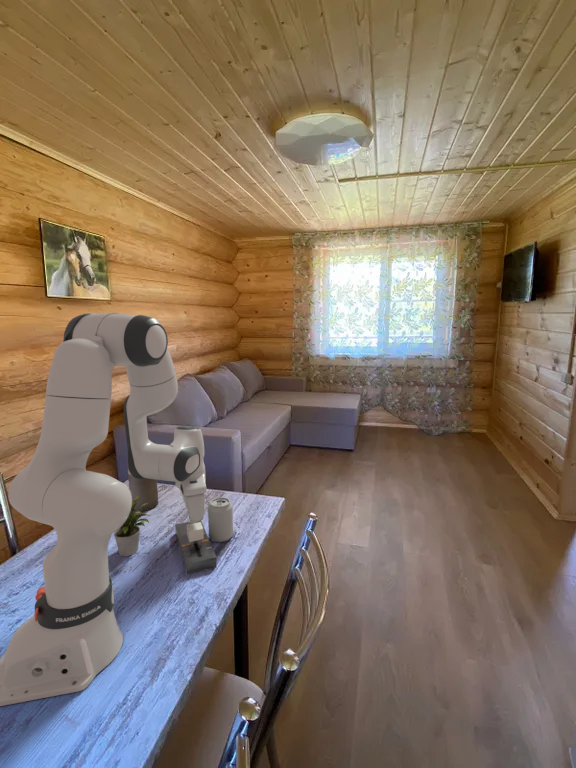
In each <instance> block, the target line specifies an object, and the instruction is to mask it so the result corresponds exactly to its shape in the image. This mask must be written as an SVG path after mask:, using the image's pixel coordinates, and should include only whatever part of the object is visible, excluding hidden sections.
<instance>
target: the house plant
mask: <svg viewBox="0 0 576 768" xmlns="http://www.w3.org/2000/svg"><path fill="white" fill-rule="evenodd" d="M138 497H139V495H138V496H137V497H136V498H135V499H134V501H133V502H132V507H131V511H130V514H129V516H128V518H127V520H126V521H125V523H124V524H123V525H122V526H121V527H120V528H119V529H118V530H117V531H116V532H114V533H113V536H114V540H115V543H116V546H117V550H118V553H119V555H120V556H122V557H128V556H132V555H134V554H136V553H137V552H138V550H139V542H140V533H141V527H146V526H145V523H146V522H147V523H148V524H150V521H149V520H148V519H147V518H142V517H143V516H144V517H145V516H148V517H149V516H151V515H149V514H148V513H143V511H142V510H141V511H139V510H140V509H141V508H142V507H143V506H144V505H146V504H147V503H145V504H143V505H142V506H141V507H140V508H139V509H138V510H137V511H135V510H134V509H135V506H136V504H137V499H138ZM134 511H135V512H134Z"/></svg>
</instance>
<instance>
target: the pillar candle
mask: <svg viewBox="0 0 576 768" xmlns="http://www.w3.org/2000/svg"><path fill="white" fill-rule="evenodd" d="M127 477H128V478H127V479H128V488H129V489H130V492H131V495H132V502H133V501H134V499H135V498H136V497H137V496H138V495H139V497H138V499H137V504H136V506H135V509H134V511H135V510H136V511H137V510H138V509H139V508H140V507H141V506H142V505H143V504H145V503H147V504H146V505H144V506H143V507H142V508H141V509H140V510H139V512H145V510H146V511H149V510H152V509H154V508H155V507H157V506H158V505H159V493H158V480H155V479H136V478H134V477H133V476H132V475H131V473H130V472H129V470H128V469H127ZM141 510H142V511H141ZM136 511H135V512H136Z"/></svg>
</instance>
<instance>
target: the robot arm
mask: <svg viewBox="0 0 576 768" xmlns="http://www.w3.org/2000/svg"><path fill="white" fill-rule="evenodd" d="M166 331H167V330H166V329H165V327H164V326H163V325H162V323H161V322H160V321H159V320H158V319H156V318H154V317H152V316H148V315H143V314H142V315H141V314H138V315H133V314H125V313H118V312H103V313H101V312H100V313H91V312H89V313H83V314H80V315H78V316H75V317H73V318H71V320H70V321H69V322H68V323H67V325H66V326H65V330H64V333H63V342H61V343H59V345H58V346H57V347H56V349H55V352H54V354H53V358H52V361H51V364H50V368H49V371H48V375H47V376H48V377H47V382H46V391H45V397H44V398H45V399H44V407H43V408H44V409H43V414H42V415H43V417H42V424H41V432H40V437H39V440H38V442H37V446H36V449H35V451H34V453H33V455H32V458H31V460H30V462H29V463H28V464H27V465H26V467H25V468H23V469H22V470H21V471H19V472H18V473H17V474H16V475H15V477H13V479H12V481H11V482H10V485H9V489H8V492H7V493H8V495H7V497H8V501H9V504H10V505H11V507H12V508H13V510H15V511H17V512H18V513H20V515H22V516H24V517H25V518H27V519H28V520H30V521H35V522H37V523H40V524H43V525H44V524H45V525H48V526H51V527H53V529H54V530H55V532H56V535H57V540H56V541H57V542H56V545H55V546H54V547H52V548H51V550H50V551H49V552H48V553H47V554H46V556H45V557H44V559H43V562H42V572H43V581H44V586H41V587H39V588H38V589H37V590H36V595H35V598H34V599H35V600H36V601H35V603H34V613H33V615H32V616H31V617H30V618H29V619H27V620H26V621H25V622H24V623H22V624H21V625H20V626H19V627H18V628H17V629H16V631H15V632H14V633H13V635H12V637H11V639H10V641H9V643H8V646H7V647H6V651H5V652H4V653H3V655H2V656H1V657H0V707H3V706H8V705H13V704H18V703H19V704H21V703H25V702H29V701H35V700H39V699H44V698H52V697H55V696H60V695H61V696H62V695H66V694H72V693H76V692H81V691H83V690H85V689H86V688H88V686H89V685H90V684H91V683H92V681H94V678H95V677H96V676H97V675H98V674H99V673H100V672H101V671H102V670H104V669H105V668H106V667H107V666H108V665H109V664H111V663H112V661H113V660H115V658H116V656H117V655H118V654H119V652H120V650H121V649H122V645H123V641H124V640H123V639H124V636H123V632H122V631H121V629H120V627H119V623H118V622H117V617H116V615H115V611H114V603H115V596H114V593H115V592H114V585H113V580H112V578H111V576H110V574H109V573H110V571H109V552H108V551H109V544H110V539H111V538H112V535H114V532H116V531H117V530H118V529H119V528H120V527H121V526H122V525H123V524H124V523H125V521H126V520H127V518H128V516H129V514H130V511H131V507H132V495H131V492H130V489H129V486H127V485H126V484H125V483H124V482H121V481H120V480H118V479H116V478H114V477H113V476H110V475H108V474H105V473H101V472H95V471H92V470H91V471H90V470H87V468H86V467H87V462H88V458H89V457H90V454H91V452H92V451H93V449H95V448H96V447H98V446H99V445H102V443H103V442H105V440H106V439H107V437H108V434H109V426H110V425H109V424H110V415H111V405H112V404H111V403H112V402H111V401H112V399H111V398H112V389H113V388H112V387H113V383H112V382H113V379H112V377H113V376H112V372H113V370H114V368H115V367H116V366H117V367H125V371H126V375H127V376H126V377H127V380H128V384H129V394H128V395H127V396H126V398H125V400H124V403H123V419H124V428H125V436H126V446H127V454H126V455H127V457H126V466H127V471H128V470H129V472H130V473H131V475H132V476H133V477H134V478H136V479H155V480H157V481H165V482H166V481H167V482H175V483H174V485H175V487H176V488H177V489H179V491H180V492H181V496H182V499H183V502H184V505H185V507H186V512H187V514H188V520H189V522H190V523H195V522H196V521H203V520H204V517H205V503H206V502H205V501H206V500H205V499H206V497H205V494H206V493H207V483H206V480H207V479H206V466H205V465H206V464H205V463H204V457H205V443H204V435H203V432H202V429H201V428H200V427H198V426H194V425H180V426H177V427H176V428H174V432H173V441H172V442H171V443H170V444H162V443H161V444H159V443H155V442H153V441H152V440H150V439H149V433H148V423H147V418H148V416H150V415H155V414H157V413H159V412H162V411H163V410H165V409H167V407H169V406H170V405H171V404H172V403H173V402H174V401H175V399H176V398H177V395H178V393H179V384H178V382H179V381H178V378H177V374H176V369H175V364H174V362H173V357H172V356H171V353H170V350H169V347H168V344H169V343H168V341H169V339H168V334H167V332H166Z"/></svg>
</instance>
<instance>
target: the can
mask: <svg viewBox="0 0 576 768" xmlns="http://www.w3.org/2000/svg"><path fill="white" fill-rule="evenodd" d="M233 505H234V504H233V503H232V502H231V499H230V498H227V497H220V496H219V497H215V498H212V499H211V500H210V501H209V505H208V506H207V517H208V519H207V522H208V538H209V540H211V541H213V542H215V543H224V542H227V541H228V540H230V539H231V538H232V537H233V535H234V520H233V519H234V517H233V514H234V513H233V512H234V511H233V508H234V507H233Z"/></svg>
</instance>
